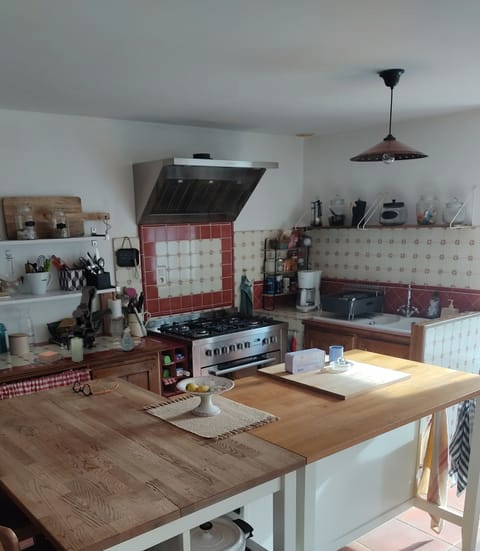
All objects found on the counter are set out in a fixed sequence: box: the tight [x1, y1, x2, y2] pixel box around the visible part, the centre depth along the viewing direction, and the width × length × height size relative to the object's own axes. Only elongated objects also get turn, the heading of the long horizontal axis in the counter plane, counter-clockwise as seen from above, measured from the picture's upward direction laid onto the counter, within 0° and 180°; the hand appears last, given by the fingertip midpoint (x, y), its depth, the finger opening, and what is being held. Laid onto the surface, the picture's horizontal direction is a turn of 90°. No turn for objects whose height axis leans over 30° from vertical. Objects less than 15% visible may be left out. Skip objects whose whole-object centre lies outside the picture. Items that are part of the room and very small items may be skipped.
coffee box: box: [111, 316, 129, 344], centre depth 320 cm, size 9×6×16 cm
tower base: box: [32, 350, 65, 365], centre depth 283 cm, size 12×12×4 cm
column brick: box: [70, 337, 84, 363], centre depth 281 cm, size 6×6×14 cm
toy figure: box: [112, 327, 142, 352], centre depth 301 cm, size 17×10×15 cm, turn 105°
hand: (76, 350), depth 280 cm, fingers open, 9 cm apart
